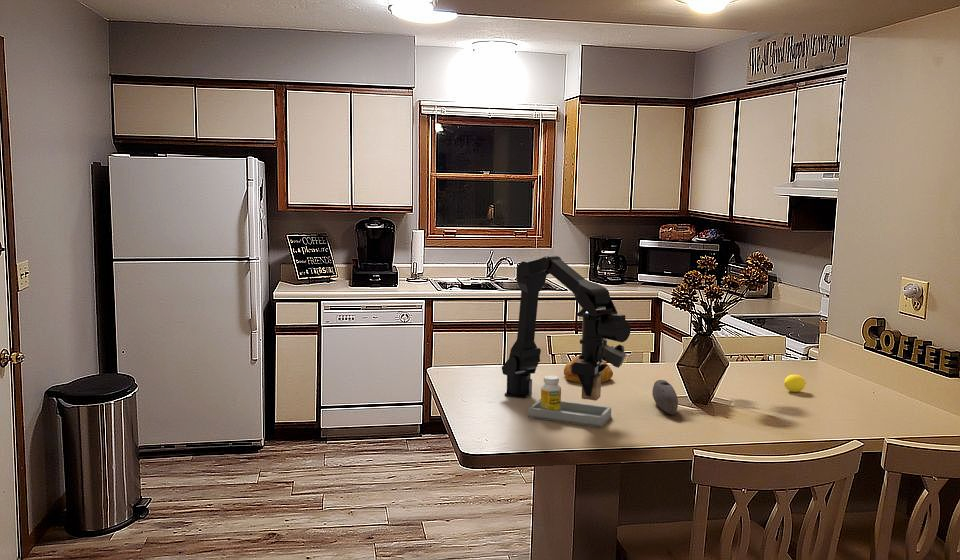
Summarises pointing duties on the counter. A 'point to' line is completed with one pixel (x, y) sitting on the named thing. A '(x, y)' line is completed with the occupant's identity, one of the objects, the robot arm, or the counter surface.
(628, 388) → the counter surface
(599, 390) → the block
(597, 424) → the tray
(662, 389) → the perforated stone tool
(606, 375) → the croissant
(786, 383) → the lemon
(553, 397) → the supplement bottle
